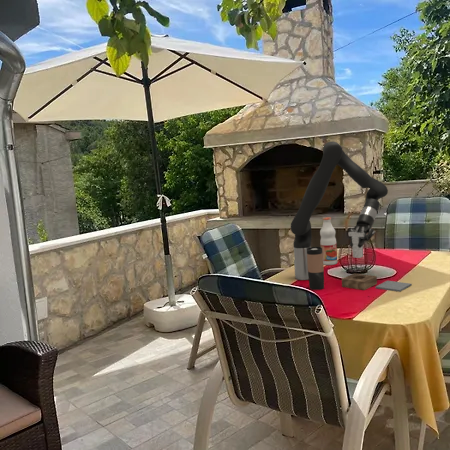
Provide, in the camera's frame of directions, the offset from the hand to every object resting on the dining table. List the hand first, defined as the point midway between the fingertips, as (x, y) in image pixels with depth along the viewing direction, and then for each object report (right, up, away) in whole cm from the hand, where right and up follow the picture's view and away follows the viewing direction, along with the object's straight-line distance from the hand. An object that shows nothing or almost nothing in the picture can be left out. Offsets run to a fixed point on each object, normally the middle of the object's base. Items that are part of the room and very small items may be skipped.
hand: (355, 246), depth 211 cm
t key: (+2, -5, +2) cm, 6 cm away
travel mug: (-17, -21, +6) cm, 28 cm away
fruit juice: (+1, -13, +55) cm, 56 cm away
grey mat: (+17, -19, -3) cm, 26 cm away
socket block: (+3, -19, +4) cm, 20 cm away
